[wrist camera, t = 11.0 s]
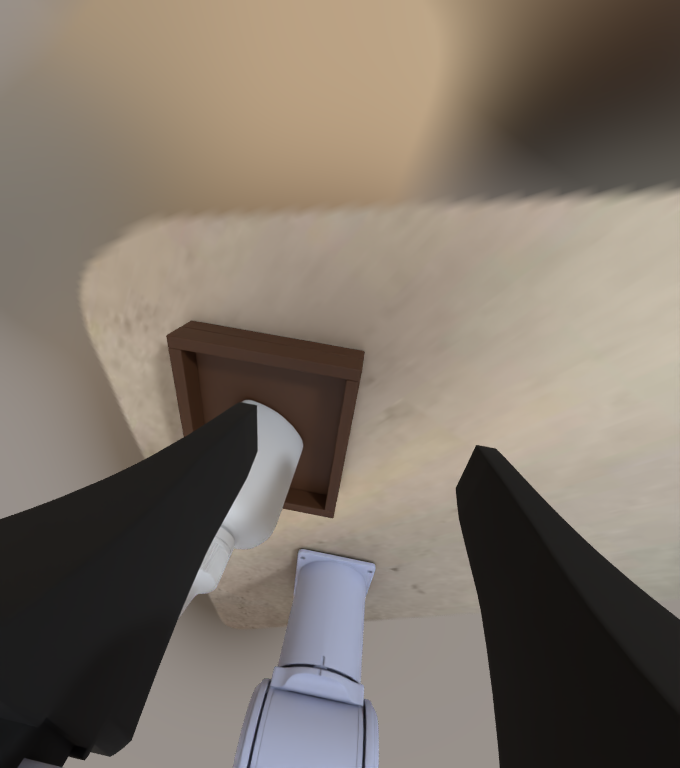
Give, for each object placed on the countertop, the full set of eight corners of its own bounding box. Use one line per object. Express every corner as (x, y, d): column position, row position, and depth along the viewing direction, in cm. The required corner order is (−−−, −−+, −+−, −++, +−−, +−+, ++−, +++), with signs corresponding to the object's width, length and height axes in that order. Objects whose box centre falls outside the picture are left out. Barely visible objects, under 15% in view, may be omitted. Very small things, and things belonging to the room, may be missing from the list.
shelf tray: (337, 491, 27) (333, 518, 24) (209, 466, 27) (192, 490, 25) (364, 350, 20) (362, 370, 17) (190, 319, 20) (165, 335, 18)
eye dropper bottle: (258, 459, 24) (165, 647, 14) (225, 401, 22) (82, 578, 12) (309, 451, 23) (249, 648, 13) (280, 389, 21) (176, 573, 10)
